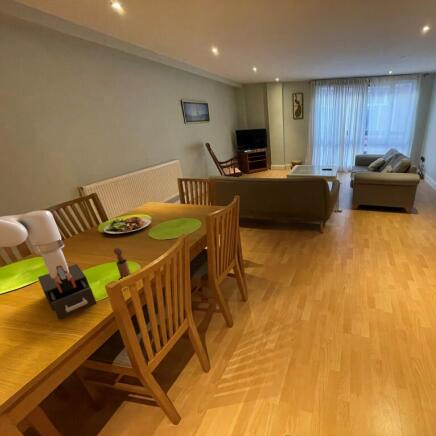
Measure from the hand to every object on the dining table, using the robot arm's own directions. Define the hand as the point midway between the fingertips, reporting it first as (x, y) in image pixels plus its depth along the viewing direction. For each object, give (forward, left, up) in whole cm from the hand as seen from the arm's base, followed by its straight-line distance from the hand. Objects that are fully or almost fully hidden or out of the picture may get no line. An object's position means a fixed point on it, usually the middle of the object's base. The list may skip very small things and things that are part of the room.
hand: (66, 286), depth 91 cm
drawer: (0, -1, -9) cm, 9 cm away
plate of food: (+42, +69, -10) cm, 82 cm away
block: (0, 0, 0) cm, 0 cm away
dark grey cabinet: (0, +11, -10) cm, 15 cm away
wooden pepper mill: (+19, +2, -10) cm, 22 cm away
